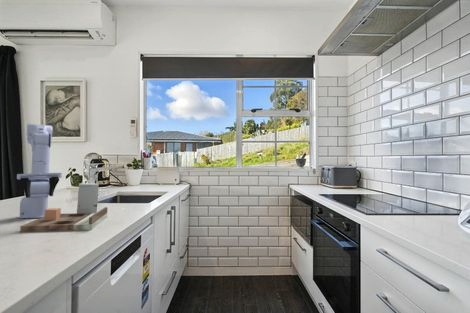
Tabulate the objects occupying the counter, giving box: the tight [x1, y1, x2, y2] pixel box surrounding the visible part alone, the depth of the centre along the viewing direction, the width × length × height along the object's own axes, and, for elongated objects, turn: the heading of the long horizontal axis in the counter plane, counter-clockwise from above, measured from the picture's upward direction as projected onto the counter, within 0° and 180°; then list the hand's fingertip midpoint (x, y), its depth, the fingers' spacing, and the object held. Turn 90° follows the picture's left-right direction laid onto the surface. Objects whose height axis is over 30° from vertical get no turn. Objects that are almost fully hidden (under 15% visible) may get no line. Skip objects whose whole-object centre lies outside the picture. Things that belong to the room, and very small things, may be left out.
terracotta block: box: [44, 207, 62, 220], centre depth 105 cm, size 4×4×4 cm
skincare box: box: [76, 182, 99, 213], centre depth 122 cm, size 8×6×15 cm
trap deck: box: [19, 206, 108, 233], centre depth 106 cm, size 23×22×4 cm
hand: (39, 196), depth 104 cm, fingers open, 7 cm apart
